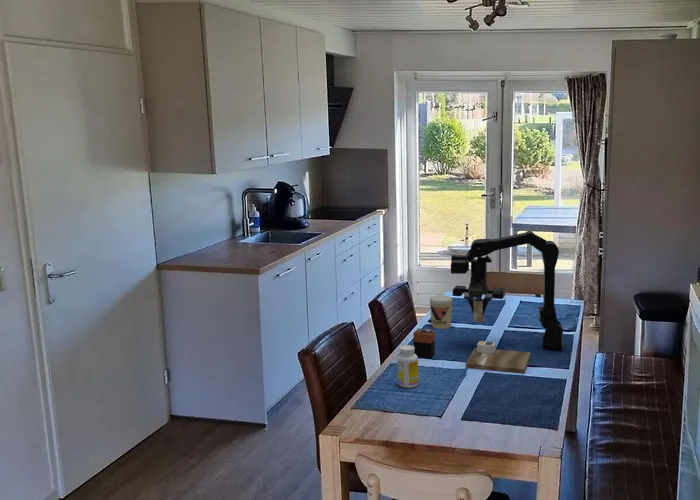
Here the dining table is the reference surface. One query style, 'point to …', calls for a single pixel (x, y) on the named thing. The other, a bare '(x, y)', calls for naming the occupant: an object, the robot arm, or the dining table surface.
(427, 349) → the battery
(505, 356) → the board
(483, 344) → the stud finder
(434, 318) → the coffee cup
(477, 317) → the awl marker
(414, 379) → the supplement bottle
